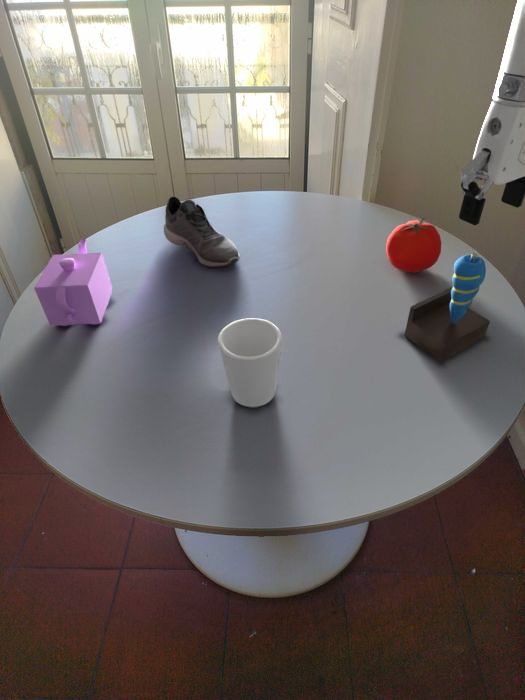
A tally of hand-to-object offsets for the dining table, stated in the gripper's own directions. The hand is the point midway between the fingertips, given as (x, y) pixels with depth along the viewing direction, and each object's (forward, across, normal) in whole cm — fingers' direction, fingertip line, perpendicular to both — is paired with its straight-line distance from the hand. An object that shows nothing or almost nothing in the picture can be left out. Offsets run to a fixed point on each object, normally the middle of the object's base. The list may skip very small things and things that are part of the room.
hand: (489, 212), depth 71 cm
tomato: (+26, +12, +23) cm, 36 cm away
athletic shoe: (+25, -23, +58) cm, 67 cm away
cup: (+26, -38, +10) cm, 47 cm away
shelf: (+26, 0, +2) cm, 26 cm away
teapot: (+25, -54, +51) cm, 79 cm away
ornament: (+22, 0, +1) cm, 22 cm away
